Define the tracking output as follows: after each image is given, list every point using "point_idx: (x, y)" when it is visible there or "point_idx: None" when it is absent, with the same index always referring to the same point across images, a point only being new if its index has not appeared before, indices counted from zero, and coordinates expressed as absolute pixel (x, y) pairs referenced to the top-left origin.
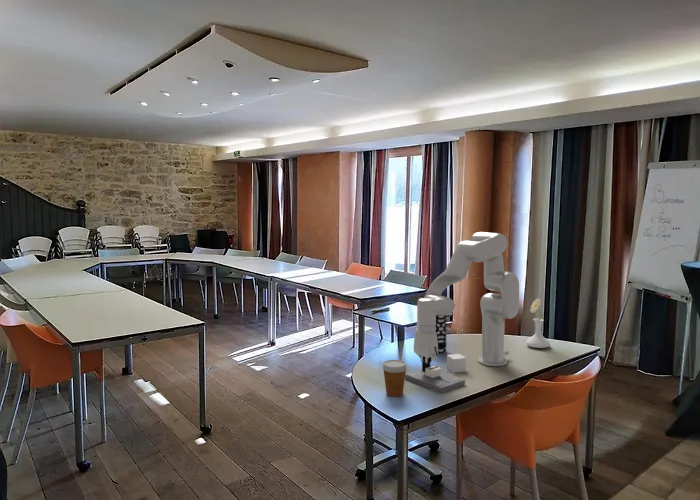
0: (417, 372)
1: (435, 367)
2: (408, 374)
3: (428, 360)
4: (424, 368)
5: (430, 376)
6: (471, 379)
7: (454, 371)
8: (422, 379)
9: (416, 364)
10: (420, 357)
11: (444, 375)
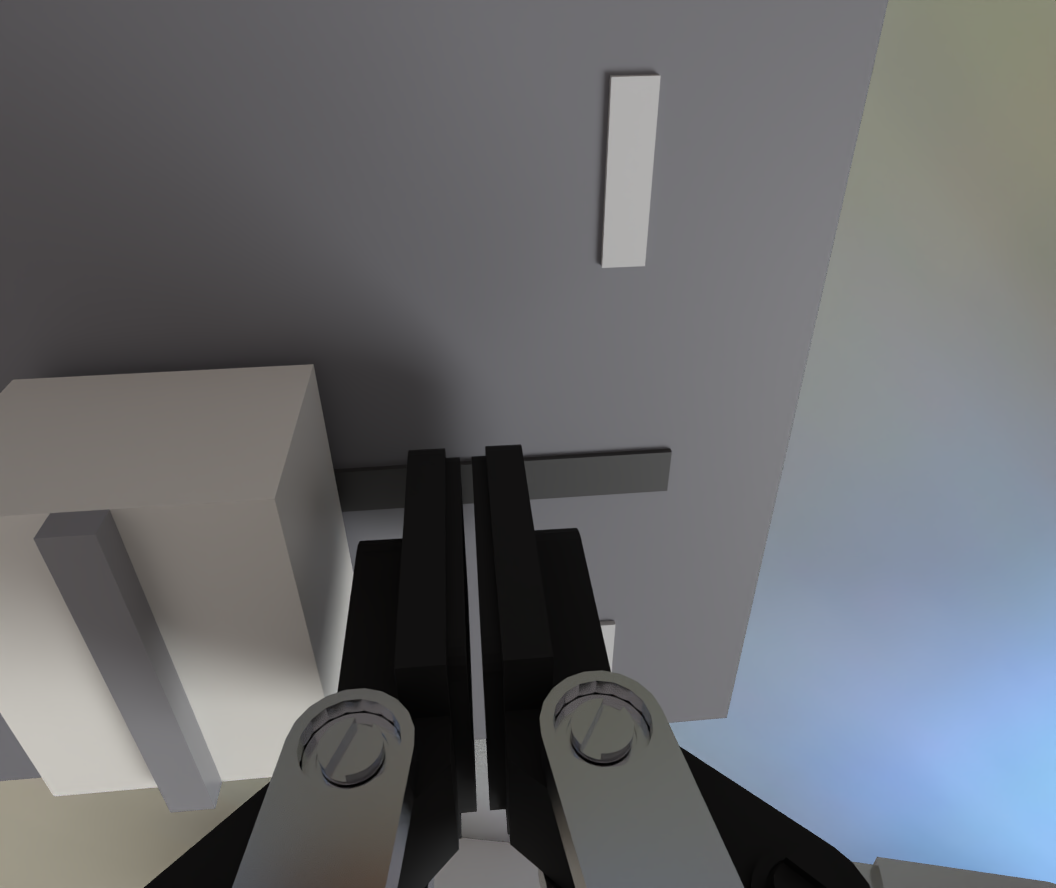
0: (678, 378)
1: (144, 735)
2: (771, 47)
3: (246, 866)
4: (420, 518)
5: (94, 391)
6: (36, 858)
7: None
8: (129, 102)
9: (1042, 673)
10: (766, 827)
11: None
